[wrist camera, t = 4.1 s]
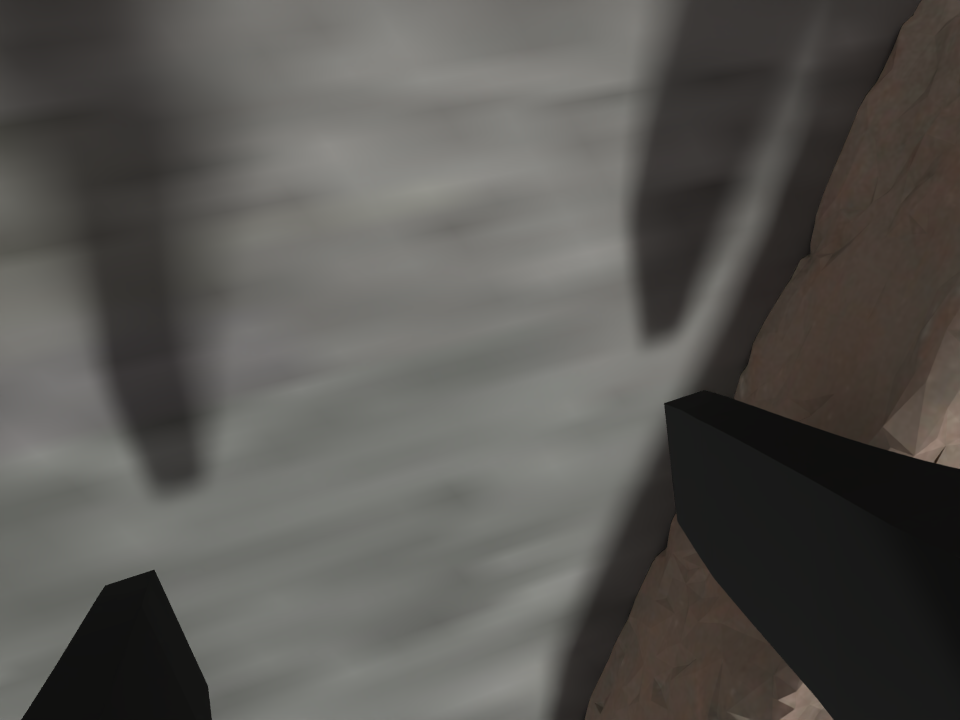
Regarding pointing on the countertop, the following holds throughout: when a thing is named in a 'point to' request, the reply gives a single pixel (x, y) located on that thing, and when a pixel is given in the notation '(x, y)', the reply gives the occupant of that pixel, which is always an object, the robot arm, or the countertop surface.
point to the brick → (828, 376)
